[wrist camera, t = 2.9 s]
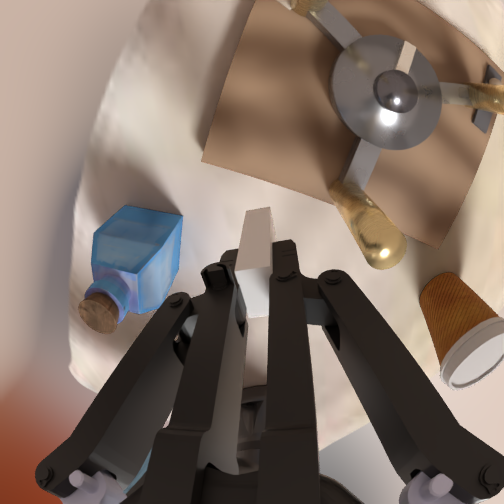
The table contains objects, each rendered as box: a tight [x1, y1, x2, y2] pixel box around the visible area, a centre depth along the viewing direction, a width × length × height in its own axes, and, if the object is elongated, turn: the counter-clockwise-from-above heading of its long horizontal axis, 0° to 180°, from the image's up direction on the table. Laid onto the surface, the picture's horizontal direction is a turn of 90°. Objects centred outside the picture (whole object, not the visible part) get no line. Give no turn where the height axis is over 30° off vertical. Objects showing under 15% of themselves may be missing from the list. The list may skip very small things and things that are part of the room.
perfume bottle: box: [78, 205, 183, 334], centre depth 22 cm, size 6×6×12 cm
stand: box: [201, 0, 504, 249], centre depth 18 cm, size 21×24×4 cm
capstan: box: [290, 0, 504, 270], centre depth 14 cm, size 16×18×10 cm
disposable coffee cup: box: [419, 272, 504, 390], centre depth 24 cm, size 10×10×12 cm
